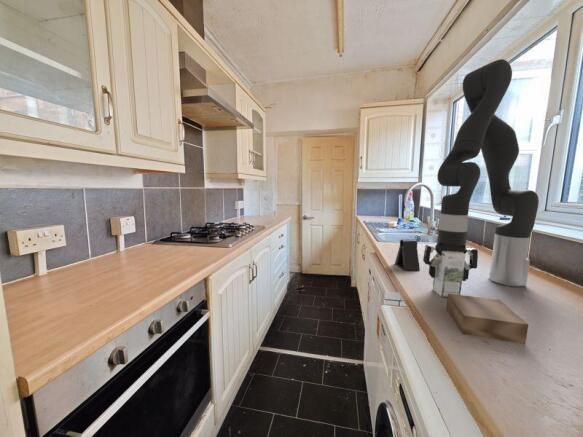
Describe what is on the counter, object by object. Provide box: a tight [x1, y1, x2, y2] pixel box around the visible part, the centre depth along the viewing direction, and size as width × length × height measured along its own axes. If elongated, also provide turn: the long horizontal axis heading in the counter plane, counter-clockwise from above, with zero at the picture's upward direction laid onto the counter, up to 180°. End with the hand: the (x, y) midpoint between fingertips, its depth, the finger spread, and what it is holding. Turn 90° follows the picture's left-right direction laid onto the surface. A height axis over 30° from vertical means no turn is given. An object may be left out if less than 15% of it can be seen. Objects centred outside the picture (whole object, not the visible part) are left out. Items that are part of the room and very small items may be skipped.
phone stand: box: [394, 239, 421, 272], centre depth 102 cm, size 9×6×12 cm, turn 4°
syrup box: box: [432, 251, 466, 298], centre depth 77 cm, size 6×6×14 cm
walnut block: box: [445, 294, 529, 345], centre depth 61 cm, size 12×12×5 cm
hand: (447, 278), depth 77 cm, fingers open, 8 cm apart
